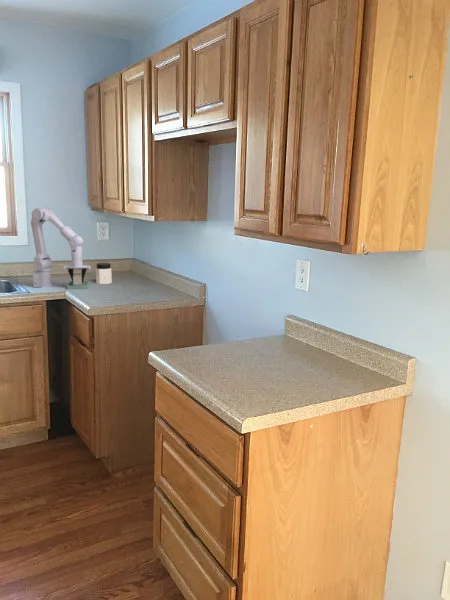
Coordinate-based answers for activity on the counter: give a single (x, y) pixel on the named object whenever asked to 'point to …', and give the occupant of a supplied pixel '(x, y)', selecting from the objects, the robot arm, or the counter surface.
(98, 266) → the jar
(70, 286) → the tote
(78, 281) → the concrete cube
